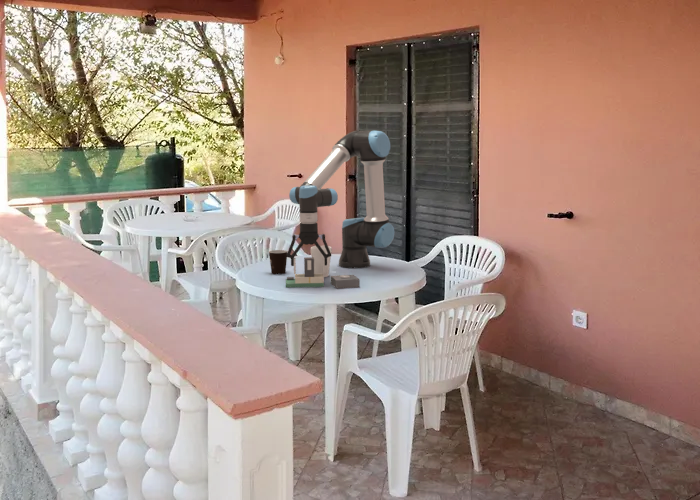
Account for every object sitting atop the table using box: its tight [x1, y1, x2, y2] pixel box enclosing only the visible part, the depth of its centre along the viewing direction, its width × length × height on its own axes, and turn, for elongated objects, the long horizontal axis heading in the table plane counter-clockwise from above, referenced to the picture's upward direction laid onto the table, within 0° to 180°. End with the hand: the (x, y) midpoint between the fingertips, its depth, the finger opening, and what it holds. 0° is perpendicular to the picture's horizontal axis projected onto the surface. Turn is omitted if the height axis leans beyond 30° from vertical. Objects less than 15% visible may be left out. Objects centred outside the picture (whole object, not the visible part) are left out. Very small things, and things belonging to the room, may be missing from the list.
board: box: [285, 276, 325, 288], centre depth 323 cm, size 16×11×2 cm
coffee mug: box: [268, 249, 288, 275], centre depth 349 cm, size 12×9×10 cm
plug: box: [303, 256, 314, 277], centre depth 320 cm, size 4×5×10 cm
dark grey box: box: [330, 274, 360, 290], centre depth 320 cm, size 10×10×4 cm
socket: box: [294, 273, 325, 284], centre depth 321 cm, size 12×8×2 cm, turn 95°
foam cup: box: [310, 245, 333, 278], centre depth 340 cm, size 10×9×13 cm
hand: (309, 273), depth 321 cm, fingers open, 11 cm apart
